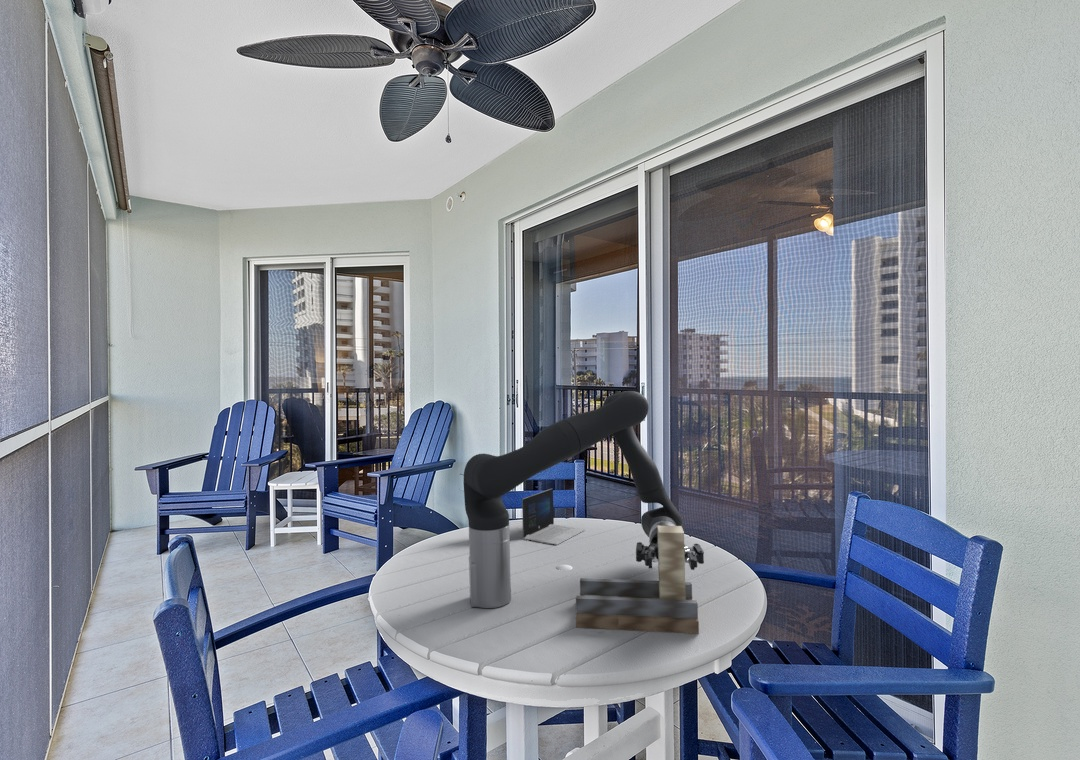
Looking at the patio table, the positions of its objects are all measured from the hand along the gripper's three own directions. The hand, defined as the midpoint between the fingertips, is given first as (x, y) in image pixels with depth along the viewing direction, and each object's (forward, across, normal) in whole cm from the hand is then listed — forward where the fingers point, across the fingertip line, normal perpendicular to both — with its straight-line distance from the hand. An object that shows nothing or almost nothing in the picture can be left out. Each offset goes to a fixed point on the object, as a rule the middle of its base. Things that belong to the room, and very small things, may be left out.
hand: (671, 564), depth 112 cm
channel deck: (-1, -8, +12) cm, 14 cm away
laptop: (-57, -32, +12) cm, 66 cm away
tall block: (-1, 0, +9) cm, 9 cm away
